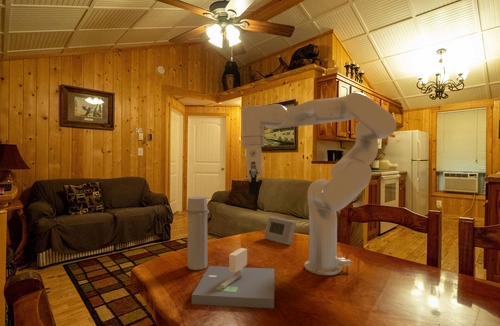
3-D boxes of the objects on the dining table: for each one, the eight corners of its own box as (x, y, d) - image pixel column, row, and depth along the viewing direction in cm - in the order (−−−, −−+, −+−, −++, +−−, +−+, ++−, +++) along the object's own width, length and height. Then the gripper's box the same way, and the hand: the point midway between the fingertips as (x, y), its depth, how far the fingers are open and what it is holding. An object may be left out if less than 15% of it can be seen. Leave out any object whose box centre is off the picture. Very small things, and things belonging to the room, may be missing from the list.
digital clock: (262, 238, 135) (262, 217, 135) (276, 236, 140) (276, 215, 140) (284, 247, 122) (284, 223, 122) (299, 244, 127) (299, 221, 127)
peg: (240, 272, 89) (240, 247, 89) (247, 274, 88) (247, 248, 88) (218, 288, 78) (218, 260, 78) (225, 290, 77) (225, 261, 77)
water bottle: (184, 265, 102) (184, 196, 101) (205, 262, 105) (205, 195, 104) (189, 275, 93) (189, 200, 93) (212, 271, 96) (212, 199, 96)
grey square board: (274, 276, 92) (274, 268, 92) (274, 308, 72) (274, 298, 72) (209, 273, 94) (209, 265, 94) (191, 304, 74) (191, 294, 74)
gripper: (264, 140, 86) (266, 195, 87) (263, 143, 104) (264, 189, 104) (240, 141, 86) (241, 196, 87) (243, 143, 104) (244, 189, 104)
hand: (254, 192), depth 95 cm, fingers open, 9 cm apart
